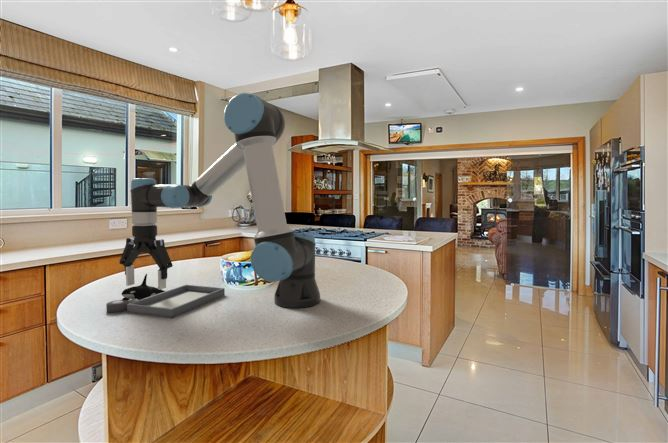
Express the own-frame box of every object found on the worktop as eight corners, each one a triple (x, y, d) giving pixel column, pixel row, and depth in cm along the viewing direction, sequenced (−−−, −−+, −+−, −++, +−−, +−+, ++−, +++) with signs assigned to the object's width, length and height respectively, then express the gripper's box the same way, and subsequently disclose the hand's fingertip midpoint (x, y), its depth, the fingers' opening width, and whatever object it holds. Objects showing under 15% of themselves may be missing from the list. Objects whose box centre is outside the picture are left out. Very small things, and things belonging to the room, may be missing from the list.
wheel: (134, 308, 112) (133, 300, 112) (117, 314, 106) (116, 305, 106) (119, 306, 114) (118, 298, 114) (101, 312, 108) (101, 303, 108)
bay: (224, 295, 127) (224, 288, 127) (171, 318, 103) (171, 309, 103) (186, 291, 132) (185, 284, 132) (127, 312, 108) (126, 304, 108)
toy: (133, 305, 111) (138, 273, 113) (106, 303, 113) (111, 271, 115) (176, 303, 131) (180, 275, 133) (153, 301, 133) (157, 273, 135)
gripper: (183, 225, 121) (184, 287, 123) (125, 222, 129) (126, 281, 130) (166, 226, 114) (167, 293, 115) (106, 223, 121) (108, 286, 123)
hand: (146, 286), depth 123 cm, fingers open, 13 cm apart
